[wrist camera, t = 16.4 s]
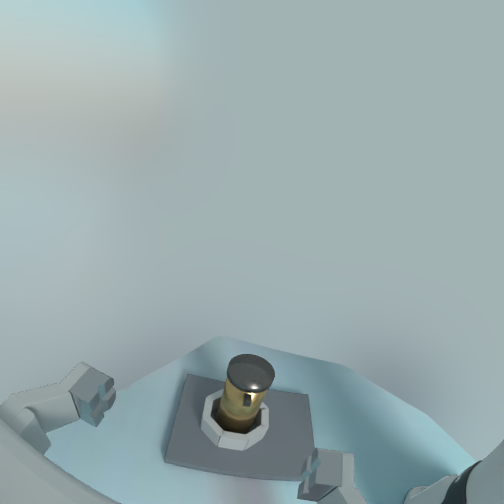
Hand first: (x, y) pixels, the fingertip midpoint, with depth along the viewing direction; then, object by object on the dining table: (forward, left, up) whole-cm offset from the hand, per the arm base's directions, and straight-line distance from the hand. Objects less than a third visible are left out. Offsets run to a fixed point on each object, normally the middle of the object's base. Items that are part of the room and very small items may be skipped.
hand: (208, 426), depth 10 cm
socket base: (-6, -18, -28) cm, 34 cm away
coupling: (-4, -18, -26) cm, 32 cm away
